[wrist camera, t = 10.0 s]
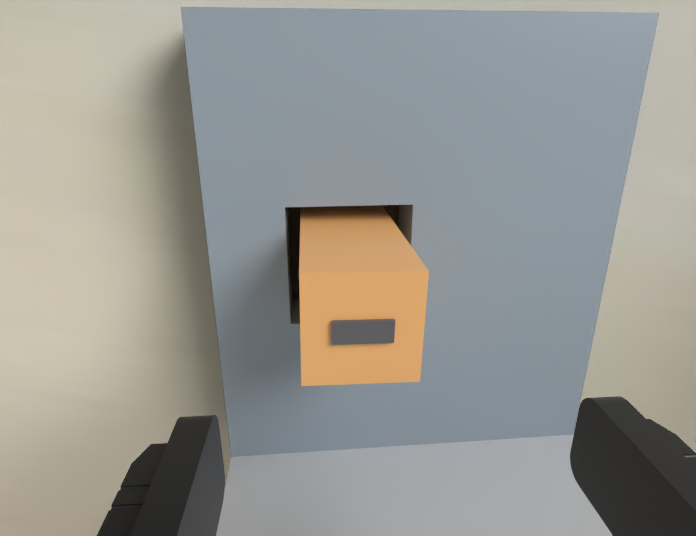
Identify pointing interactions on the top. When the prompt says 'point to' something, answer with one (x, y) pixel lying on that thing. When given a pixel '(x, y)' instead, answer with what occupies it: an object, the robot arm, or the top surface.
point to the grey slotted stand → (429, 244)
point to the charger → (359, 298)
